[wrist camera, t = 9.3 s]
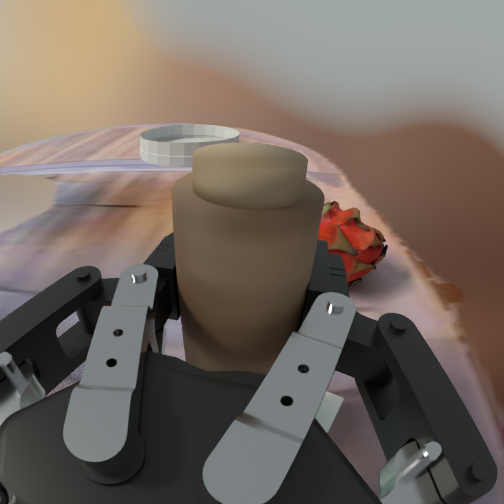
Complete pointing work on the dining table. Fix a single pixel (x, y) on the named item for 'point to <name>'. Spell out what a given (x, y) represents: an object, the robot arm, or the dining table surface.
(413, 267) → the dining table surface
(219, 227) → the jar
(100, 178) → the dining table surface
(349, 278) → the dragon fruit
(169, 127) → the dish
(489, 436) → the dining table surface
